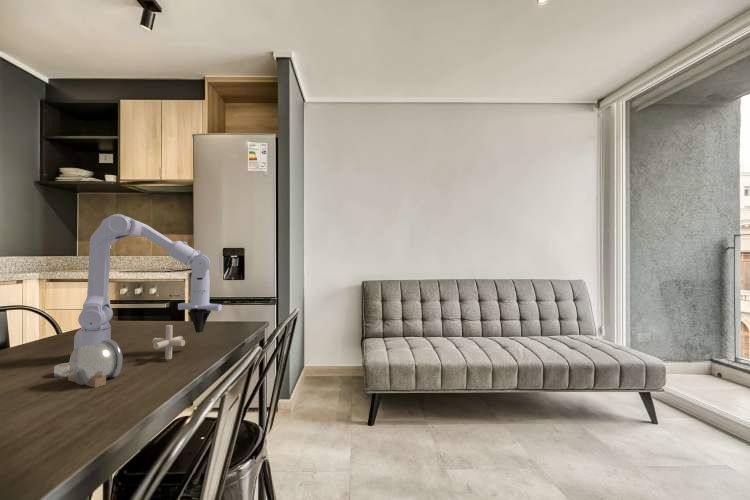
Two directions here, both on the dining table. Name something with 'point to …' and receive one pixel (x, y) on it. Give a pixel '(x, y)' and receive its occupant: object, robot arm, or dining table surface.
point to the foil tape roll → (61, 370)
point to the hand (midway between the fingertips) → (199, 331)
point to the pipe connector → (168, 342)
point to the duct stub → (95, 363)
